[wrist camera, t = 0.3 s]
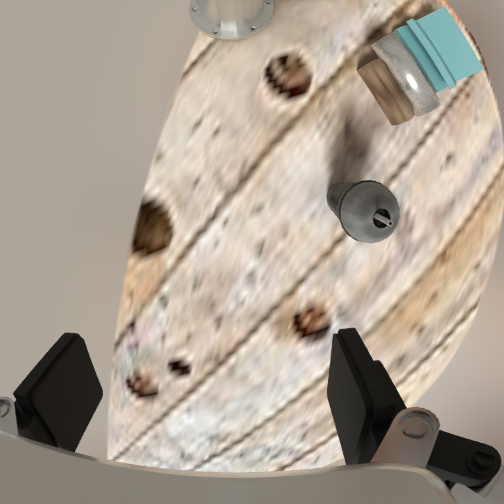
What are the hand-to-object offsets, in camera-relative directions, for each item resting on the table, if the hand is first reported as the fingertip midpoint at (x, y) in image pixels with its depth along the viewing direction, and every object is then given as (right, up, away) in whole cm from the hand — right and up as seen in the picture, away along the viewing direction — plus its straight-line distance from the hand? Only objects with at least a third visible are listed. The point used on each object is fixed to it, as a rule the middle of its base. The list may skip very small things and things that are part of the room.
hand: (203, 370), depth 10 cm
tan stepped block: (+24, +30, +29) cm, 48 cm away
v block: (+32, +37, +27) cm, 56 cm away
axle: (+23, +30, +26) cm, 46 cm away
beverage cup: (+15, +12, +35) cm, 40 cm away
